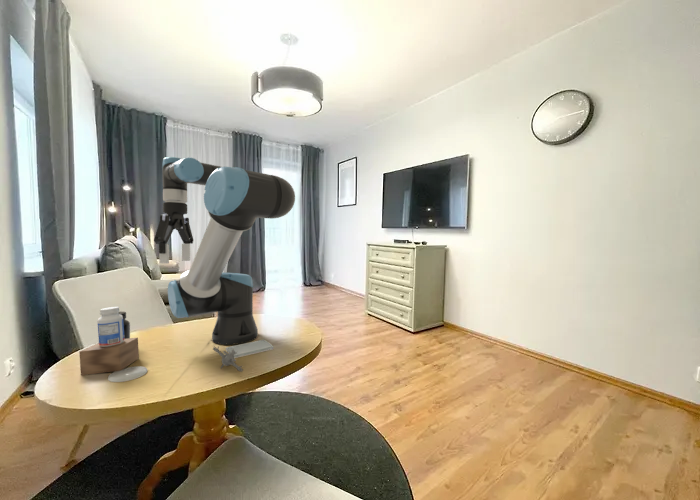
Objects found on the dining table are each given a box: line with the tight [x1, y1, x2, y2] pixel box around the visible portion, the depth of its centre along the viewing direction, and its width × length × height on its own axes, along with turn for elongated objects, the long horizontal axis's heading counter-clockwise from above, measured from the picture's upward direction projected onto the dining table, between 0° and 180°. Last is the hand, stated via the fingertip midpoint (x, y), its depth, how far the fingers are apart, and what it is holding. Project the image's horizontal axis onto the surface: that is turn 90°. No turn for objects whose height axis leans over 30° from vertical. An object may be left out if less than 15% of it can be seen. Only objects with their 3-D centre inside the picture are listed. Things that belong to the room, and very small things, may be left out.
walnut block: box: [78, 337, 140, 376], centre depth 80 cm, size 9×9×6 cm
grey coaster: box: [107, 365, 148, 383], centre depth 75 cm, size 8×8×1 cm
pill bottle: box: [97, 306, 125, 347], centre depth 80 cm, size 6×5×10 cm
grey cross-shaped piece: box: [212, 346, 244, 373], centre depth 80 cm, size 10×6×9 cm
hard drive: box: [225, 339, 274, 359], centre depth 94 cm, size 2×8×12 cm
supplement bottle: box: [118, 311, 131, 339], centre depth 91 cm, size 7×7×12 cm
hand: (175, 262), depth 106 cm, fingers open, 13 cm apart
